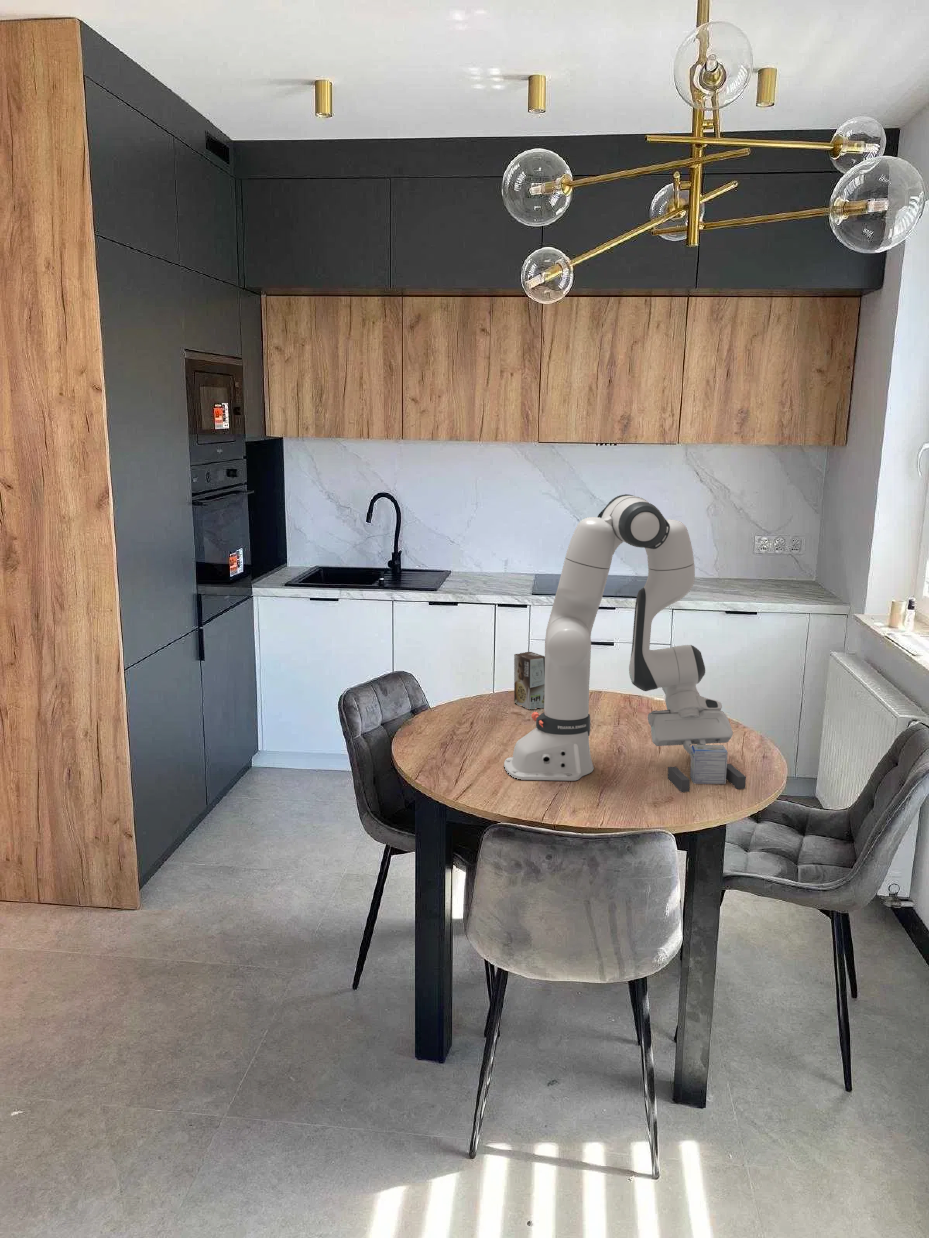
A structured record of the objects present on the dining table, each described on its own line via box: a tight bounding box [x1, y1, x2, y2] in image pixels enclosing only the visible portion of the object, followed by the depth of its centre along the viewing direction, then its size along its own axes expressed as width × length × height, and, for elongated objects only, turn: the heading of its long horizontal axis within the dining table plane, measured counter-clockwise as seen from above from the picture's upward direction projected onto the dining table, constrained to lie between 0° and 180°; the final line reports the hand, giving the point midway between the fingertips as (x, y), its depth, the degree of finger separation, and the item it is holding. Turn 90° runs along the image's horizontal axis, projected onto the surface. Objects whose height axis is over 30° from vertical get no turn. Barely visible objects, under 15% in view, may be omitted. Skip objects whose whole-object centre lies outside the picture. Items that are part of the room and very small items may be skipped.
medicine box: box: [689, 744, 729, 785], centre depth 228 cm, size 8×4×9 cm, turn 87°
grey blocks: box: [667, 763, 747, 793], centre depth 227 cm, size 16×9×3 cm, turn 98°
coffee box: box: [513, 651, 545, 710], centre depth 290 cm, size 9×6×16 cm
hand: (698, 758), depth 231 cm, fingers closed
